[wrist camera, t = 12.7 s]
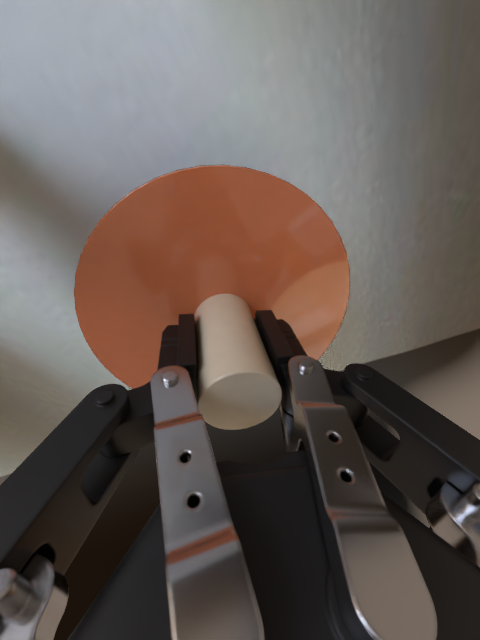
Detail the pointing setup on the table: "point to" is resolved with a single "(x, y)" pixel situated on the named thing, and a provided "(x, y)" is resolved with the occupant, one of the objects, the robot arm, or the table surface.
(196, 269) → the teapot lid
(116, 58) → the table surface
